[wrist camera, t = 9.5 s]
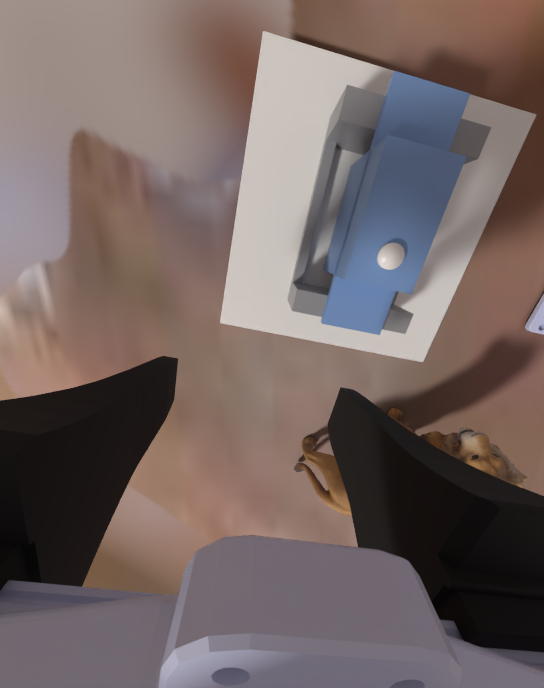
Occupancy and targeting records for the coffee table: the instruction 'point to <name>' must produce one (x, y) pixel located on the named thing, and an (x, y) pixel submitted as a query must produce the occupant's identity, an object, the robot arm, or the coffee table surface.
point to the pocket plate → (327, 191)
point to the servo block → (393, 202)
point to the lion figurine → (458, 445)
